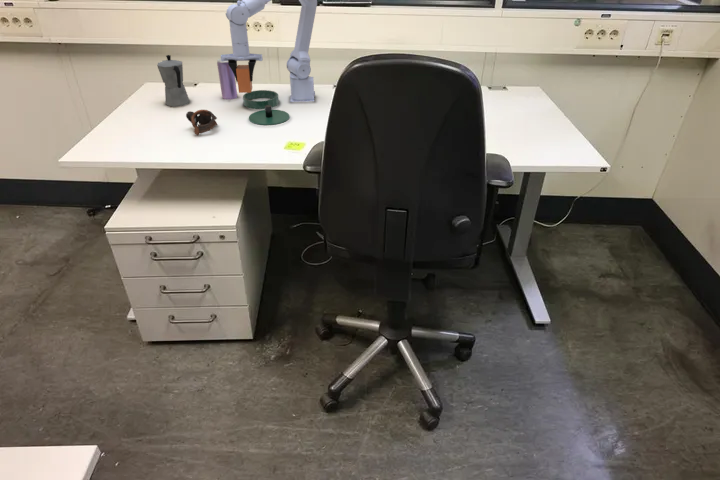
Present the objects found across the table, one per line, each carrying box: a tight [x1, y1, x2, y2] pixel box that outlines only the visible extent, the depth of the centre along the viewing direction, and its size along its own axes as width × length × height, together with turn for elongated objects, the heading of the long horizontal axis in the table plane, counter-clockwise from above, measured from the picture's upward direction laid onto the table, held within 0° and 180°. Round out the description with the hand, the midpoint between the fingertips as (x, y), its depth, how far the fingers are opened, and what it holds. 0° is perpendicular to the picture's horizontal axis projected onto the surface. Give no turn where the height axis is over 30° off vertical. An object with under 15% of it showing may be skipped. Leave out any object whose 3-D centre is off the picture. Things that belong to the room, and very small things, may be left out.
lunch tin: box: [242, 89, 280, 110], centre depth 192 cm, size 13×13×4 cm
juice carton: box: [236, 64, 253, 94], centre depth 183 cm, size 4×6×8 cm
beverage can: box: [216, 57, 238, 100], centre depth 195 cm, size 6×6×15 cm
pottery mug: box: [185, 109, 219, 136], centre depth 170 cm, size 12×10×8 cm
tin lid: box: [248, 105, 290, 126], centre depth 179 cm, size 14×14×5 cm
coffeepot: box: [156, 54, 190, 108], centre depth 188 cm, size 15×9×18 cm, turn 36°
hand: (244, 80), depth 184 cm, fingers closed on juice carton, 4 cm apart
